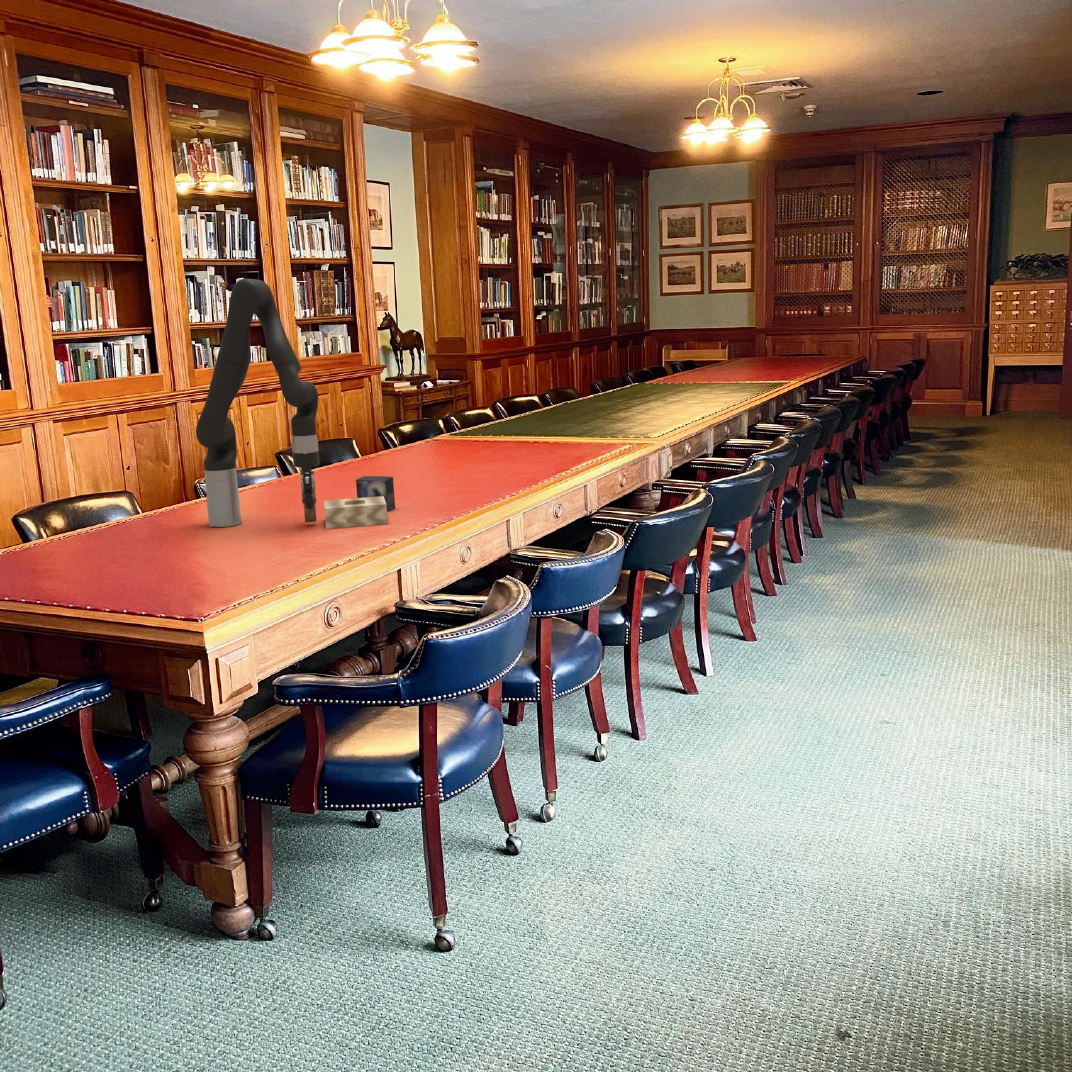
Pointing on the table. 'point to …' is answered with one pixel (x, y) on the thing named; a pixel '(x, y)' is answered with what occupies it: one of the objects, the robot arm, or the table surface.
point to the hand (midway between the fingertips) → (309, 506)
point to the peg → (309, 513)
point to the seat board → (355, 512)
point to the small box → (377, 489)
